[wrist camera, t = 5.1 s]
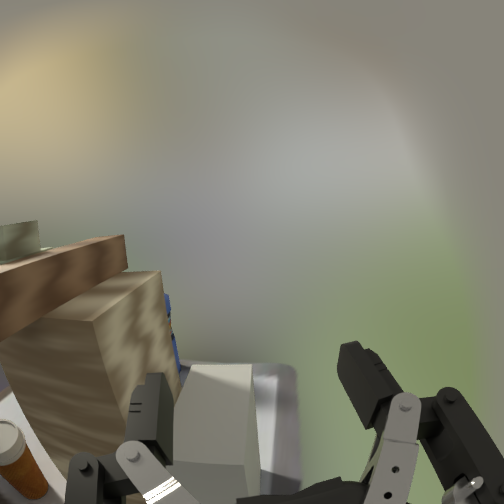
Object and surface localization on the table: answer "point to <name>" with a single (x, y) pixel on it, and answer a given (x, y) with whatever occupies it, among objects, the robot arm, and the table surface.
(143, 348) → the birch rack
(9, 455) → the disposable coffee cup
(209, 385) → the grey rectangular block
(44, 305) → the walnut block
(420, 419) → the robot arm
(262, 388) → the table surface
